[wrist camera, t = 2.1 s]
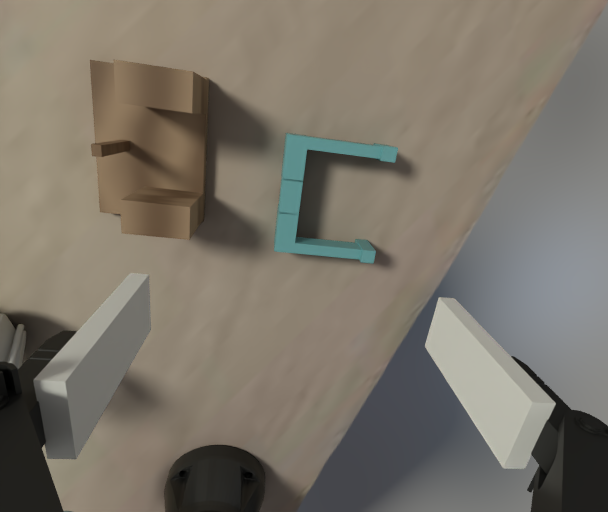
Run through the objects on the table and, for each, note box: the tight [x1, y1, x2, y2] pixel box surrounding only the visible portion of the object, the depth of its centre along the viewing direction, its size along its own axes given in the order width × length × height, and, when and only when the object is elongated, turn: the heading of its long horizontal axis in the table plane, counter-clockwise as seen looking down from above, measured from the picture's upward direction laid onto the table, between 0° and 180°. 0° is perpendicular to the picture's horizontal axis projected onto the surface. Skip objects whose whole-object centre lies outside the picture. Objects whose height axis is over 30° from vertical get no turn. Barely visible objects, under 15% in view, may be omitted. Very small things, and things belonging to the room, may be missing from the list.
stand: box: [90, 60, 209, 240], centre depth 35 cm, size 11×15×8 cm
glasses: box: [274, 133, 398, 263], centre depth 40 cm, size 12×13×4 cm
